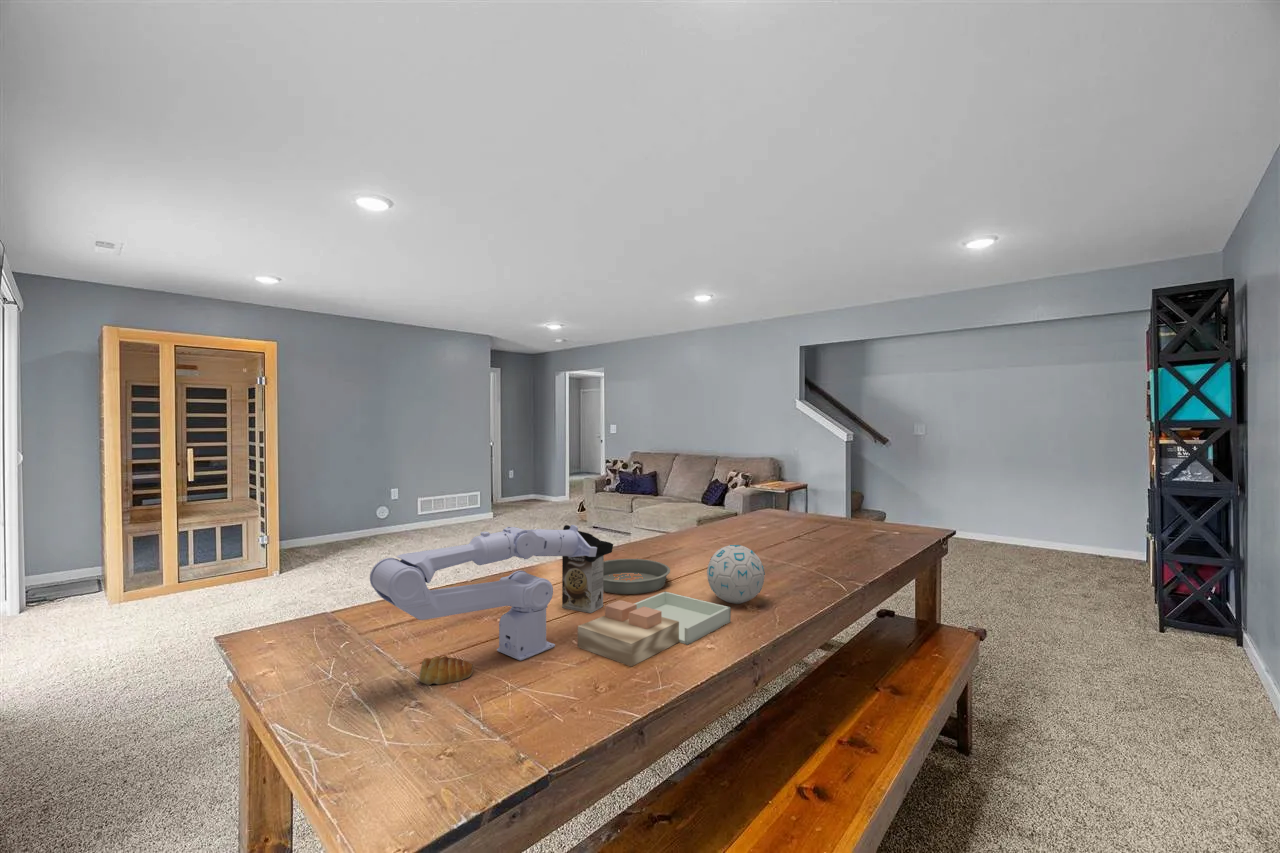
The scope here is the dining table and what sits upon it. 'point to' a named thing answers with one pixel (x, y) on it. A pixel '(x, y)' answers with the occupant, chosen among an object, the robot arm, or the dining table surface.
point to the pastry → (444, 670)
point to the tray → (689, 614)
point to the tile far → (619, 610)
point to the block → (627, 639)
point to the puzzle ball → (735, 574)
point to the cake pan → (648, 569)
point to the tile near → (645, 617)
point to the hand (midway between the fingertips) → (601, 543)
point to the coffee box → (582, 583)
